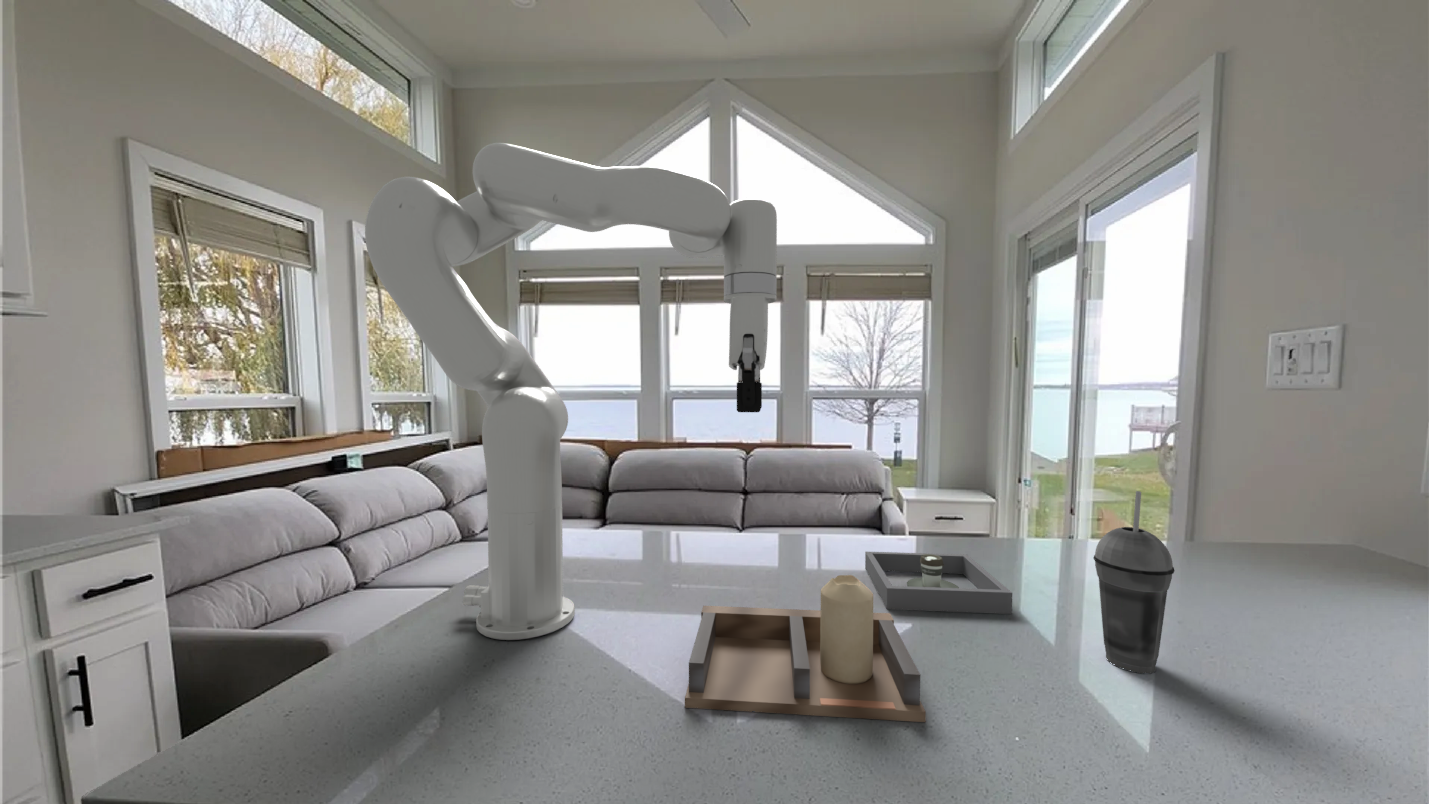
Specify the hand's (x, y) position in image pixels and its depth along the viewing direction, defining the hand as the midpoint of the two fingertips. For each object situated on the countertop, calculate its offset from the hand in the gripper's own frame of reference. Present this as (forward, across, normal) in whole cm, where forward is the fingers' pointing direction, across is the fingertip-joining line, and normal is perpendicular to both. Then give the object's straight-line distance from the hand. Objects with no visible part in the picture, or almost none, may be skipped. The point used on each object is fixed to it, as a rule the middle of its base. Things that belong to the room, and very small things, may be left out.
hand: (749, 410), depth 77 cm
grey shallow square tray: (+28, -9, +28) cm, 41 cm away
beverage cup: (+28, +12, +44) cm, 54 cm away
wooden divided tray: (+28, +18, +6) cm, 34 cm away
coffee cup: (+28, -9, +28) cm, 41 cm away
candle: (+28, +19, +11) cm, 35 cm away
